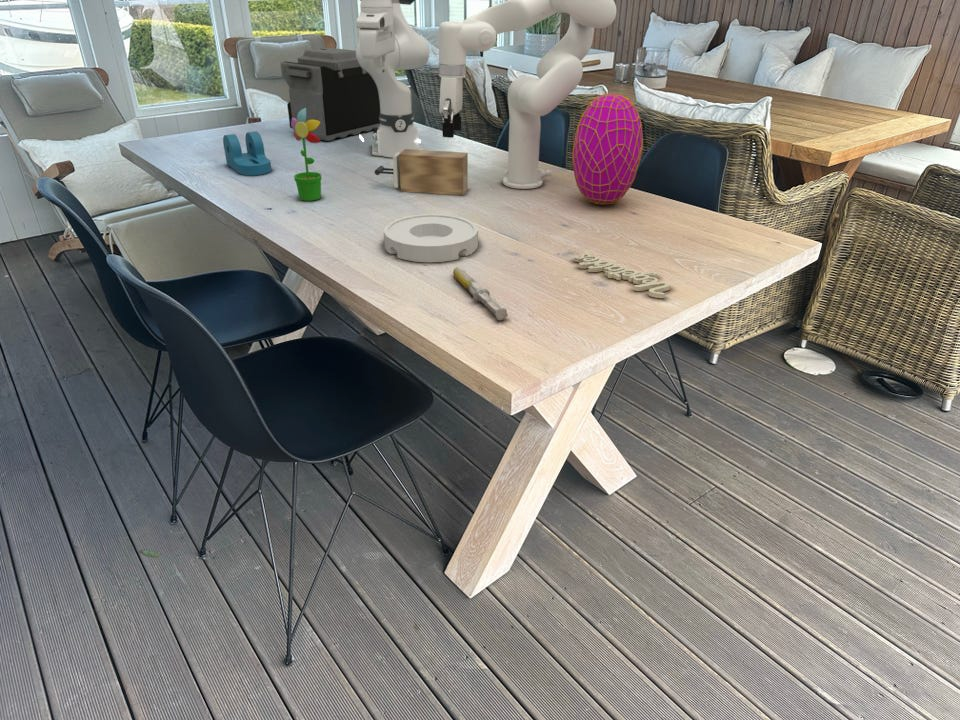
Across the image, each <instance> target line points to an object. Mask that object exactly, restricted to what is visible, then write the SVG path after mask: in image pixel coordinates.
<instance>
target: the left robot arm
mask: <svg viewBox="0 0 960 720" xmlns="http://www.w3.org/2000/svg"><path fill="white" fill-rule="evenodd" d="M359 1H360V5H359V8H360V12H359V15H358V17H357V18H356V22H355V23H356V28H357V29H359V30H358V40H359V41H358V43H357V45H356V48H355V51H356V58H357V61H358V63H359V65H360V66H361V67H362V68H363V69H364V70H365V71H367V72H368V73H369V74H370V75H371V77H372V78H373V80H374V81H375V83H376V86H377V89H378V93H379V101H380V113H379V123H380V125H379V127H378V129H376V128H374V129H373V131H374V133H372V140H373V141H375V142H372V144H371V154H372V156H377V157H384V158H391V159H393V156H394V155H395V154H396V153H397V152H402V151H403V150H405V149H413V150H424V148H423V147H421V146H420V144H421V143H422V142H421V141H422V140H421V139H419V129H418V127H416V126H415V125H414V112H413V109H412V107H413V105H412V91H411V89H410V87H409V86H408V85H407V84H405V83H404V82H403V81H401V80H398V79H397V76H396V71H409V70H414V69H419V68H422V67H425V66H426V64H427V63H428V61H429V58H430V47H429V43H428V42H427V40H426V38H425V37H423V36H422V35H420V34H419V33H417V31H415V30H414V29H413V28H412V27H411V25H410V24H409V22H408V21H407V20H406V18H405V16H404V13H403V10H402V7H401V5H406V6H407V5H409V6H411V5H412V4H413V3H414V2H415V1H416V0H359ZM358 135H359V140H361V141H362V142H363V143H364V142H365V140H364V138H363V136H362V135H361V134H358Z"/></svg>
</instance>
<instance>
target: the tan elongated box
mask: <svg viewBox="0 0 960 720" xmlns="http://www.w3.org/2000/svg"><path fill="white" fill-rule="evenodd" d="M468 154H469V153H468V152H462V151H446V150H428V149H423V150H413V149H405V150H403V151H402V152H401V153H400V154H399V164H400V184H401V185H400V192H406V193H418V194H419V193H421V194H435V195H437V194H438V195H448V196H465V194H466V193H467V191H468V189H469V187H468V185H469V183H468V182H469V181H468V180H469V177H468V176H469V173H468V172H469V169H468V168H469V167H468V164H469V163H468V161H469V160H468V159H469V155H468Z"/></svg>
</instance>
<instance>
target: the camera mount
mask: <svg viewBox="0 0 960 720" xmlns="http://www.w3.org/2000/svg"><path fill="white" fill-rule="evenodd" d="M222 140H223V141H222V143H223V149H224V150H223V151H224V156H225V161H226V165H227V166H228V167H230V168H231V169H232V170H234V171H236V172H237V173H238V174H239V175H244V176H260V175H265V174H268V173H271V172H272V164H271V159H270V158H268V157H267V156H266V153H265V145H264V141H263V139H262V136H261V134H260V132H258V131H247V132H246V133H245V146H246V152H243V151H242V150H243V149H242V146H241V142H240V140H239V138H238V135H236V134H235V133H231V134H224V135H223V138H222Z"/></svg>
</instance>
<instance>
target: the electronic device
mask: <svg viewBox="0 0 960 720" xmlns="http://www.w3.org/2000/svg"><path fill="white" fill-rule="evenodd" d="M279 64H280V71H281V72H280V73H281V76H282V77H283V79H284V81H285V83H286V85H288V95H289V101H288V102H287V104H286V105H287V114H288V122H289V128H290V129H293V128H292V126H291V121H292V118H295V119H296V120H297V115H298V113H299V112H300V111H301V110H302V109H304V108H306V122H307V121H309V120H318V121H320V124H319V126H318V127H317V128H316V129H315V130H313V131H309V132H312V133H313V134H315V135H316V136H317V137H318V138H319V139H320V140H321V141H325V142H331V141H332V142H333V141H334V140H335V139H336V138H338V139H343V138H347V137H348V136H350V135H351V136H356V135H360V134H361V133H362V132H364V133H368V132H371V131H372V130H374V128H376V130H378V127H379V125H380V123H379V113H380V101H379V93H378V89H377V86H376V83H375V81H374V80H373V78H372V77H371V75H370V74H369V73H368V72H367V71H365V70H364V69H363V68H362V67H361V66H360V65H359V63H358V61H357V58H356V49H355V50H353V49H345V48H336V47H323V48H320V49H315V48H314V49H306V50H305V51H304V52H303V55H302V56H299V57H297V62H294V61H280V63H279ZM306 122H305V123H306ZM294 131H295V129H293V132H294Z"/></svg>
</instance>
